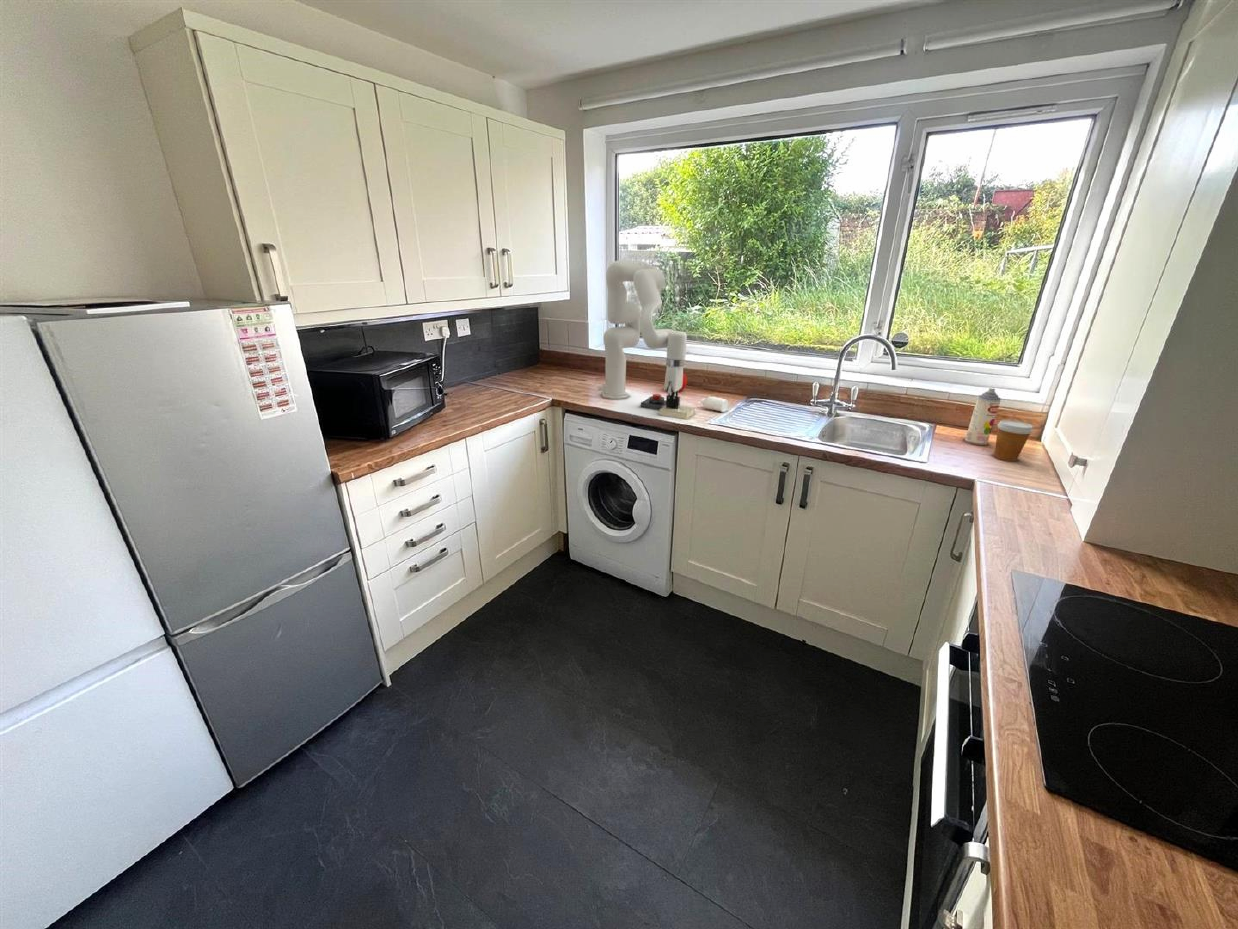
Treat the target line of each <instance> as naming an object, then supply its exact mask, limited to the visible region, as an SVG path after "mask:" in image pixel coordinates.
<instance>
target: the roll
mask: <svg viewBox="0 0 1238 929" xmlns="http://www.w3.org/2000/svg"><path fill="white" fill-rule="evenodd" d="M699 402H700V403H701V404H702V405H703V406H704V408H706V409H708V410H712V411H717V412H721V413H725V412H726V411H727V409H728V408H729V400H728V399H724V398H721V397H716V396H707V397H704V398H700V399H699Z"/></svg>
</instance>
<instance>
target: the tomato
mask: <svg viewBox="0 0 1238 929" xmlns="http://www.w3.org/2000/svg"><path fill="white" fill-rule="evenodd" d="M665 376H666V374H665ZM665 376H664V377H665ZM664 383H665V378H664ZM687 385H688V378H687V375H686V374H685V372H683V383H682V388H681V389H680V390H679V392H682V391H683V390H684V389H685V388H686V387H687Z"/></svg>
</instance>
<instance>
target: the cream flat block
mask: <svg viewBox="0 0 1238 929" xmlns="http://www.w3.org/2000/svg"><path fill="white" fill-rule="evenodd" d="M695 409H696V407H693V406H686V405H680V408H679V409H675V408H668V407H666V405H665V406H663V407H662V408H661V409H660V410H658V411H659V413H658V415H659V416H663V417H671V418H677V419H685V420H688V419H689V418H691V417H692V415H694V414H695Z"/></svg>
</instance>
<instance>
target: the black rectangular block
mask: <svg viewBox="0 0 1238 929" xmlns="http://www.w3.org/2000/svg"><path fill="white" fill-rule="evenodd" d="M675 399H676V408H675V409H679V408H680V406H681V395H679V396H676V397H675ZM665 400H666V407H668V394H667V395H666V399H665ZM668 408H669V407H668Z"/></svg>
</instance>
